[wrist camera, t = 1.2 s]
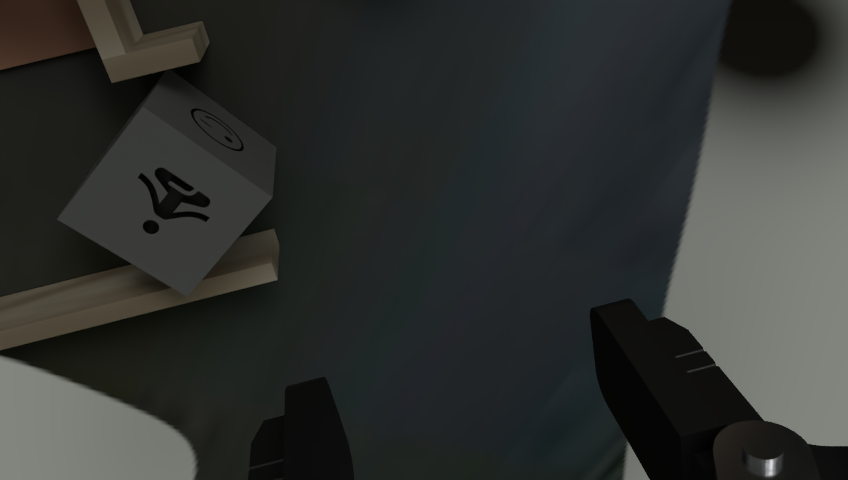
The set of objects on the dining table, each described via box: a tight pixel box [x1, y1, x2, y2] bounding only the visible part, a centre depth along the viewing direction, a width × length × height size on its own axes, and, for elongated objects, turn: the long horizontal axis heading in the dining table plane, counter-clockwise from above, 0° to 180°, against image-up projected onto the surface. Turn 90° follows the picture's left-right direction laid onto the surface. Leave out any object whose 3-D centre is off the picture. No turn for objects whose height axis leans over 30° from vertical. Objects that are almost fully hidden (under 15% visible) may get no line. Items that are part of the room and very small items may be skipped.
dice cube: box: [57, 69, 277, 297], centre depth 27 cm, size 5×5×5 cm
